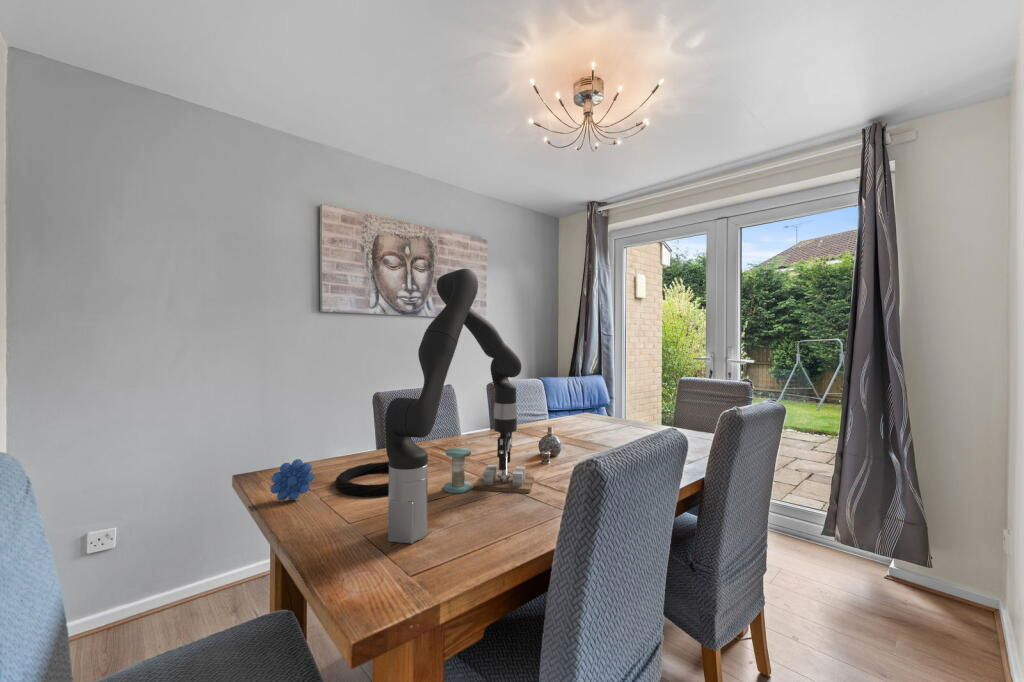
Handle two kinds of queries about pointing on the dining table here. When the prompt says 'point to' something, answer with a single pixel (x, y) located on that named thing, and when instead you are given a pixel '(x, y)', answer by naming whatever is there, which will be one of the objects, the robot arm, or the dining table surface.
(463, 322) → the robot arm
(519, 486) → the notch board
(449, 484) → the bobbin
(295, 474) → the blue flower
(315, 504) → the dining table surface
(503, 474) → the screw
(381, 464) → the cable lock
